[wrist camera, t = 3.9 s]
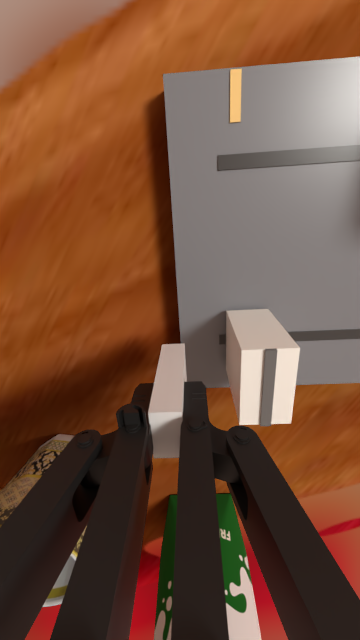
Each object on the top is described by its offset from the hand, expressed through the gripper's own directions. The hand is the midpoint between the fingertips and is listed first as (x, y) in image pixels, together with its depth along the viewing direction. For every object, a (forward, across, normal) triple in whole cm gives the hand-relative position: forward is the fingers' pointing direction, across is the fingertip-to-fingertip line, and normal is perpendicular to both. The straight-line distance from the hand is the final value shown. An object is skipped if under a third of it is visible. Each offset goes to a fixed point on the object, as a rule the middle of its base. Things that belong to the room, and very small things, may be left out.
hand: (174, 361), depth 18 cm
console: (+5, +11, +6) cm, 14 cm away
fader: (+3, +5, 0) cm, 6 cm away
